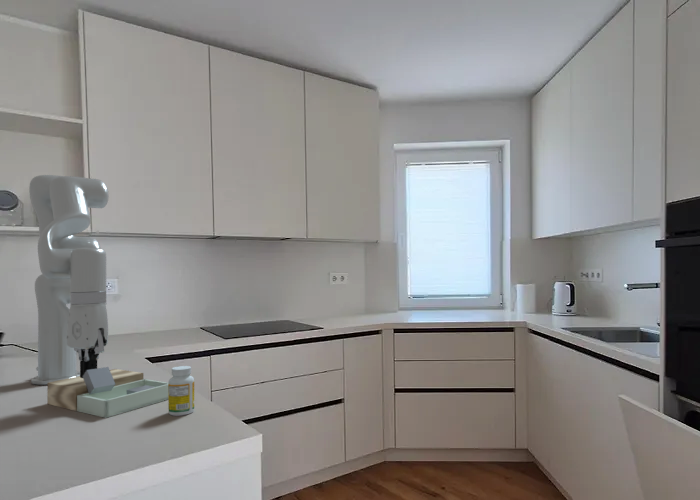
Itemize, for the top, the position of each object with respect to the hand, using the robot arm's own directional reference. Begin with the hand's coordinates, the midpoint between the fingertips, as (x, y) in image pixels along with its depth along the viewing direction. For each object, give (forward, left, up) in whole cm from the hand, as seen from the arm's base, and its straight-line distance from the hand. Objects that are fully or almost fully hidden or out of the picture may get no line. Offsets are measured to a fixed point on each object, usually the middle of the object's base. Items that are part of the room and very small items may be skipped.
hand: (88, 377), depth 110 cm
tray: (+9, +4, -6) cm, 12 cm away
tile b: (+3, 0, -1) cm, 4 cm away
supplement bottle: (+26, +5, -6) cm, 28 cm away
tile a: (+11, +7, -3) cm, 13 cm away
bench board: (-3, +4, -6) cm, 8 cm away
